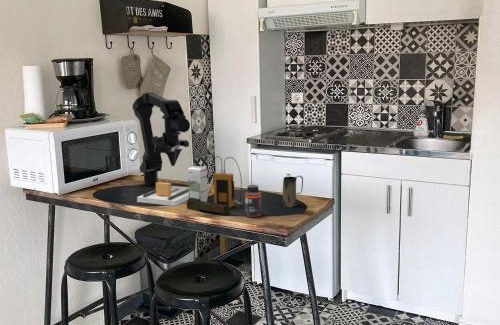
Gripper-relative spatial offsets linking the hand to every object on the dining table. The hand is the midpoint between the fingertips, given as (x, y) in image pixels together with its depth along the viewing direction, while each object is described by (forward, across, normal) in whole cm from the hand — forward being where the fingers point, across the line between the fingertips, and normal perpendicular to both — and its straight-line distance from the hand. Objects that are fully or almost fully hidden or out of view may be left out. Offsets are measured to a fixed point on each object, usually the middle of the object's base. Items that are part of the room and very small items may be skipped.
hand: (173, 165), depth 220 cm
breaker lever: (+10, +13, +3) cm, 16 cm away
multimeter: (+12, +9, +30) cm, 34 cm away
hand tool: (+12, +21, +27) cm, 36 cm away
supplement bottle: (+12, +19, +46) cm, 52 cm away
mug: (+12, +1, +55) cm, 56 cm away
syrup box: (+12, +11, +18) cm, 24 cm away
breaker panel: (+12, +8, +3) cm, 15 cm away
